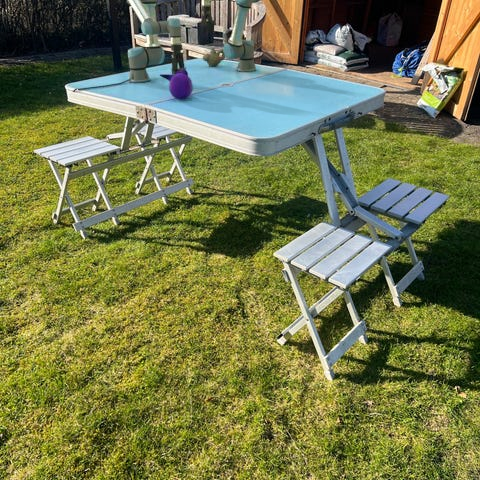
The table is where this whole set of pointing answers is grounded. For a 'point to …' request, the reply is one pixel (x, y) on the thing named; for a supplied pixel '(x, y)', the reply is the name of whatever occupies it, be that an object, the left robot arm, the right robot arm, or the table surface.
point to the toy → (179, 84)
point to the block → (179, 69)
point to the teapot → (214, 57)
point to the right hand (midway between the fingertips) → (207, 34)
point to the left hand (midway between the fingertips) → (179, 80)
